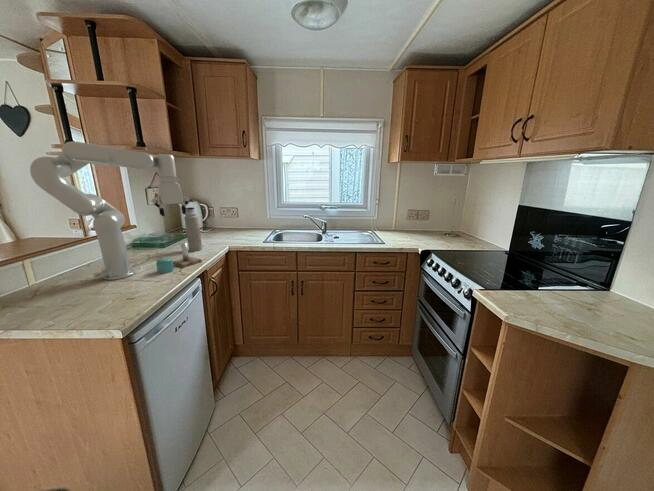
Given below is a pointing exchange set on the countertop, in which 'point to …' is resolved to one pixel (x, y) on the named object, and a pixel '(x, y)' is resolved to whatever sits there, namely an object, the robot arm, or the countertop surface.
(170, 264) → the teal block
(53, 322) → the countertop surface
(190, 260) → the post board
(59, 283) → the countertop surface
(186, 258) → the post
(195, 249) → the thermos bottle
